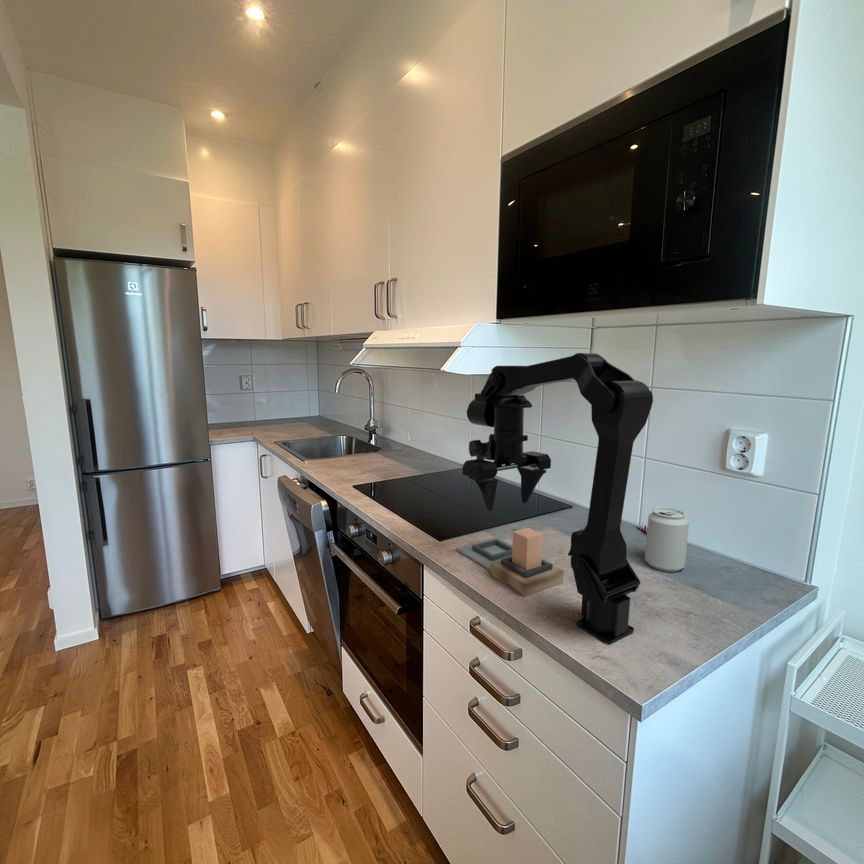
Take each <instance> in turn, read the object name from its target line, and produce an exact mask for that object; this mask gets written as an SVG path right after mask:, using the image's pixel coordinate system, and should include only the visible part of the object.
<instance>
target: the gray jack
mask: <svg viewBox="0 0 864 864" xmlns="http://www.w3.org/2000/svg"><path fill="white" fill-rule="evenodd" d="M512 545H513V543H512V544H511V543H510V542H508V541H506V540H504V539H502V538H499V537H493V538H490V539H486V540H483V541H478V542H475V543H471V544H466V545H464V546H463V545H462V546H460V547H456V551H457V552H458V553H460V554H461V555H462V556H465V557H466V558H468V559H469V560H471V561H473V562H474V563H476V564H478V565H479V566H481V567H483V568H484V569H485V570H487V571H488V572H490V563H492V562H495V561H499V560H501V559H504V558H507V557H511V556H512Z"/></svg>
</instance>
